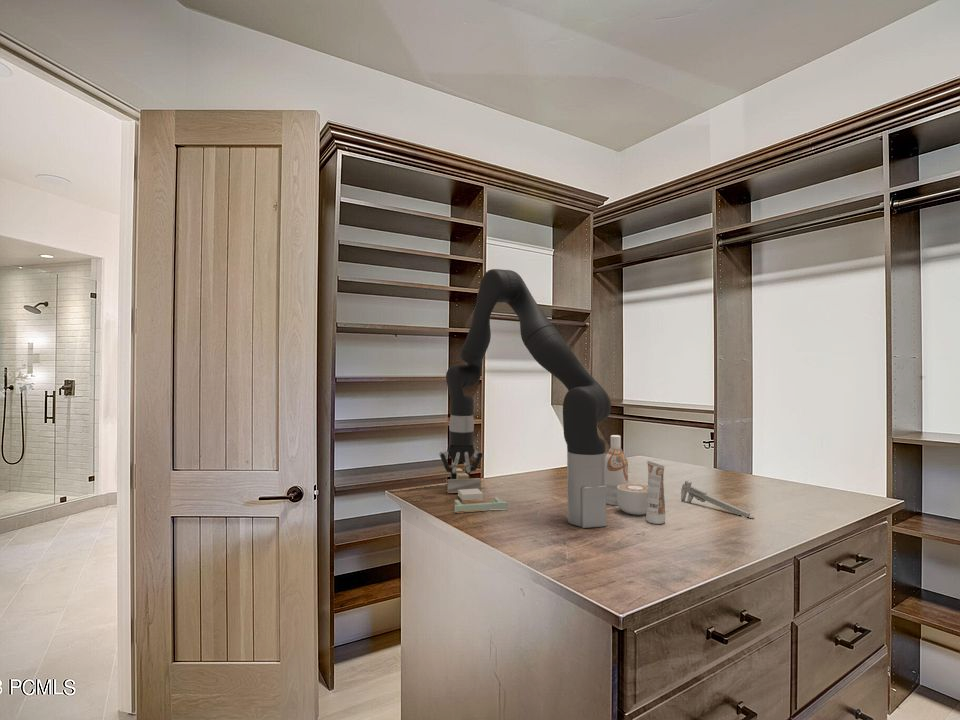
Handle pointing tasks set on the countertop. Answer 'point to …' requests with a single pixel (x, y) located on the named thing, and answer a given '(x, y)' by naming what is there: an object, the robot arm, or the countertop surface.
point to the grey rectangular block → (462, 482)
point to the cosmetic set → (634, 486)
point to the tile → (470, 494)
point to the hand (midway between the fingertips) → (460, 484)
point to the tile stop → (480, 505)
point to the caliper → (709, 499)
